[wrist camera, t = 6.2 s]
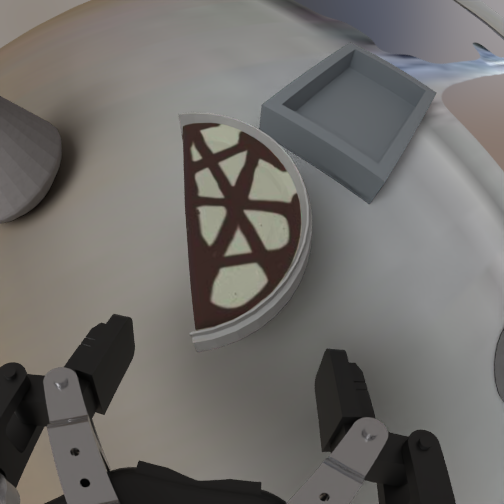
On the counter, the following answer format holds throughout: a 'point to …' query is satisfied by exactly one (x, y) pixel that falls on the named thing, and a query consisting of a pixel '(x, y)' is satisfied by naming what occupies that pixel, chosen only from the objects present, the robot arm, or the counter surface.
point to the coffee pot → (25, 159)
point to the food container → (240, 227)
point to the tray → (349, 117)
